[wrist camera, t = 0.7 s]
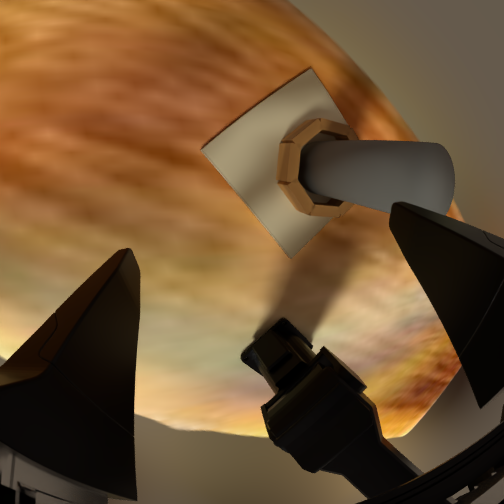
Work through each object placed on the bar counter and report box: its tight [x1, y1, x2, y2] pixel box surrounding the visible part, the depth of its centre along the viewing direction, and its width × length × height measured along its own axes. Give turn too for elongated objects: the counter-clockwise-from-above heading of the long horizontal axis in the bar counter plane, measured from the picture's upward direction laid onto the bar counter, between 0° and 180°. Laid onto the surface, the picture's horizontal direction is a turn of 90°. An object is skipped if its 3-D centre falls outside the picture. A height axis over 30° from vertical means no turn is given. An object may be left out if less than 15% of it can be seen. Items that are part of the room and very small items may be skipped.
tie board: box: [201, 69, 359, 259], centre depth 24 cm, size 13×13×2 cm
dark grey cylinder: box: [298, 140, 455, 215], centre depth 20 cm, size 5×5×13 cm
